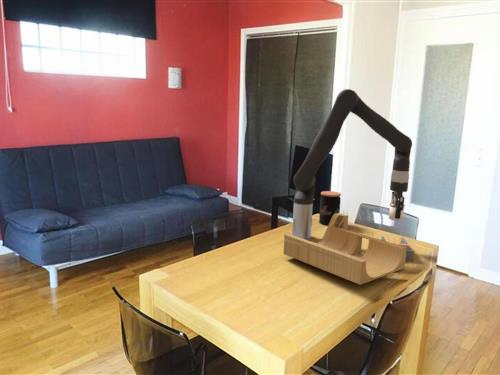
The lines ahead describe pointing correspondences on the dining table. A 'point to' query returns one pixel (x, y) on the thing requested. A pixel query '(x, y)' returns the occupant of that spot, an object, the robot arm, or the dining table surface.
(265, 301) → the dining table surface
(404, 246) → the pusher
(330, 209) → the coffee jar
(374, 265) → the skate ramp
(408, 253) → the grey tray
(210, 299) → the dining table surface
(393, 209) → the jar
